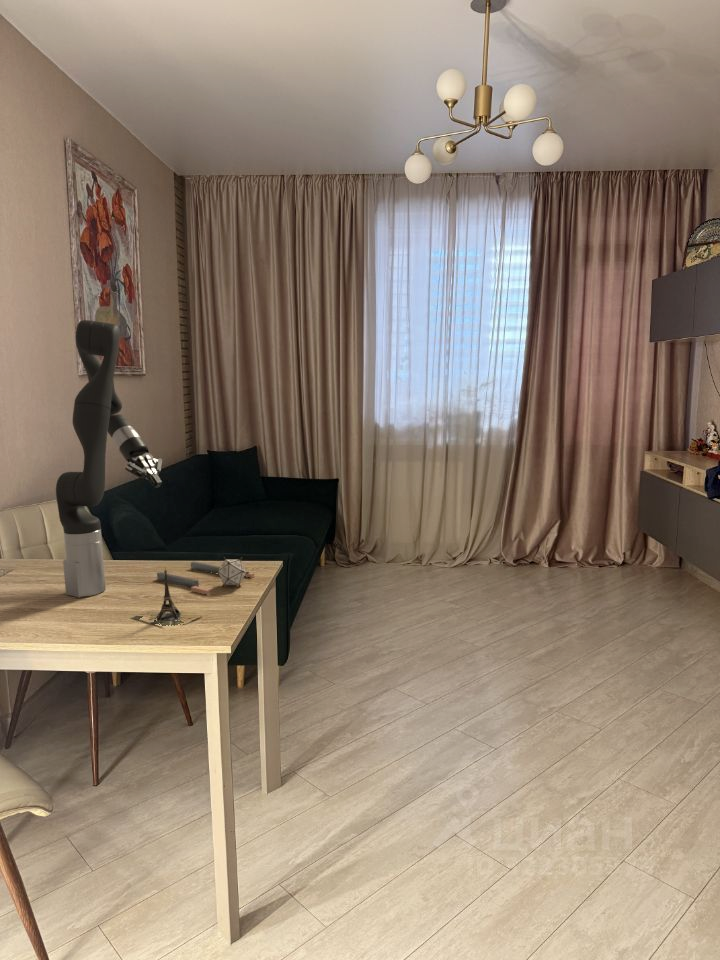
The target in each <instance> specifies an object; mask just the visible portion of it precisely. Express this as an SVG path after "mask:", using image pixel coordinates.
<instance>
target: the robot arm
mask: <svg viewBox="0 0 720 960" xmlns="http://www.w3.org/2000/svg"><path fill="white" fill-rule="evenodd" d="M120 330H121V329H120V327H119V326H118V325H117V324H114V323H110V322H102V321H95V320H88V319H83V320H80V321H78V324H77V326H76V329H75V346H76V349H77V353H78V355H79V357H80V360H81V362H82V364H83V368H84V371H85V372H86V375H87V380H88V382H87V383H86V384H84V386H83V387H82V388H81V390H80V391H78V393H77V395H76V396H75V399H74V404H73V412H72V426H73V430H74V431H75V433H76V436H77V438H78V440H79V442H80V445H81V447H82V451H83V458H84V459H83V469H82V471H66V472H63V473H62V474H61V475H59V477H58V478H57V481H56V484H55V485H56V486H55V497H56V504H57V509H58V510H57V511H58V517H59V522H60V524H61V526H62V529H63V536H64V537H63V539H64V549H65V559H64V560H63V561H62V563H63V565H62V566H63V576H64V585H65V586H64V587H65V594H66V595H68V596H72V597H75V598H78V599H79V598H84V597H91V596H95V595H98V594H99V595H100V594H102V593H103V592H105V591H106V577H105V564H104V563H105V562H104V555H103V551H104V550H103V539H102V538H103V537H102V526H101V520H100V519H99V518H98V517H97V516H95V515H93V514H91V513H90V512H89V511H87V509H86V508H85V507H95V506H98V505H99V504H100V503H101V501H102V500H103V497H104V494H105V488H106V453H107V452H106V451H107V440H108V435H109V437H111V439H112V440H113V442H114V445H115V446H116V448H117V449H118V450H119V452H120V454H121V455H122V457H123V458H124V460H125V461H126V462H127V464H126V465H125V468H124V469H125V471H127V472H129V473H131V474H133V475H134V476H136V477H138V478H140V479H144V478H145V480H147V481H149V483H150V485H151V486H153V487H154V489H155V488H160V487H161V485H162V482H163V481H162V480H161V478H160V476H159V474H160V472H161V470H162V465H163V464H162V463H163V459H162V458H161V457H160V458H158V459H157V458H154V456H153V455H152V454H151V453H150V451H149V447H148V445H146V443H145V442H144V441H143V438H142V437H141V436H140V434H139V433H138V432H137V430H136V429H135V428H134V427H133V426H132V424H131V423H130V421H129V420H128V419H127V417H126V416H125V415H123V414H119V413H120V412H121V410H122V409H123V404H122V400H121V399H120V397H119V396H118V394H117V392H116V390H115V381H114V377H115V371H116V366H117V360H118V357H119V356H118V355H119V350H120V344H121V342H120V341H121V331H120ZM98 356H99V357H103V359H102V360H101V359H100V358H99V357H98Z"/></svg>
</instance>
